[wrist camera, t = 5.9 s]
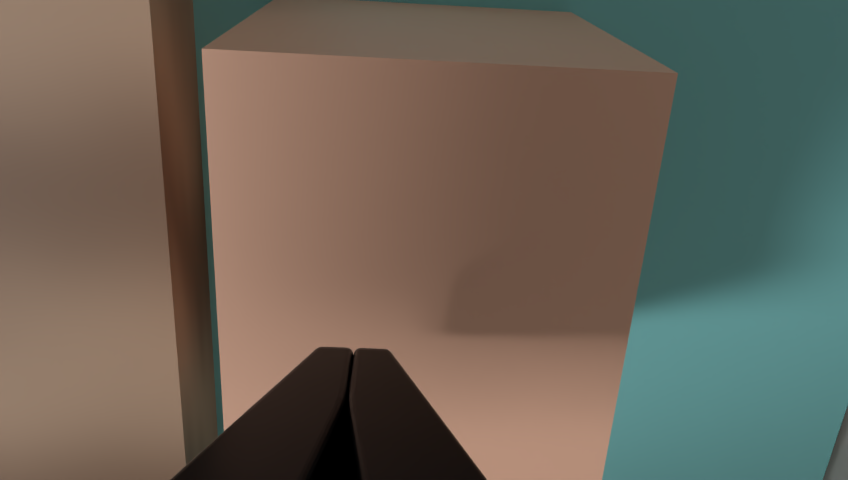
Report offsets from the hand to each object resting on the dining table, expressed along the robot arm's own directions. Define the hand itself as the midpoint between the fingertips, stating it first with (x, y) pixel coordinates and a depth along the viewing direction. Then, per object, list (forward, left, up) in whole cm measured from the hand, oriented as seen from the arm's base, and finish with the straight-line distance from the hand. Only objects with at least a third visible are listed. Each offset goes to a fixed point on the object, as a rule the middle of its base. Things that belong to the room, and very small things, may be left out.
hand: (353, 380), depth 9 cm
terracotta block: (0, +2, -4) cm, 5 cm away
